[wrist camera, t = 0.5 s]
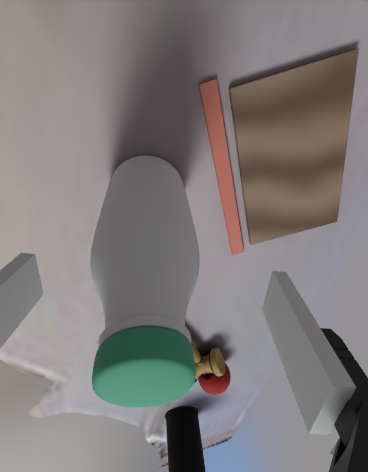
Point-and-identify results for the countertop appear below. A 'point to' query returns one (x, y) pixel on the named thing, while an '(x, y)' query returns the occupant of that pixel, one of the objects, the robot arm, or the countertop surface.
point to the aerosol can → (184, 440)
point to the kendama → (211, 371)
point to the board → (293, 145)
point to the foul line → (221, 161)
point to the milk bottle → (144, 285)
